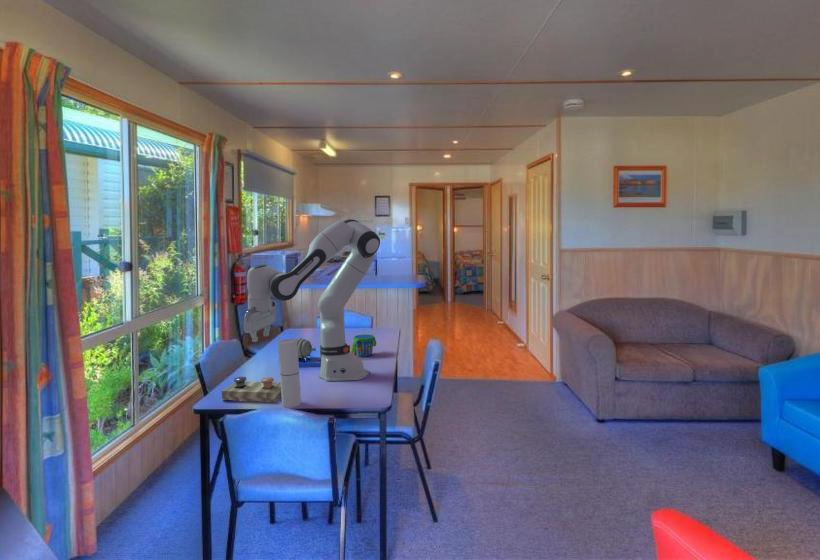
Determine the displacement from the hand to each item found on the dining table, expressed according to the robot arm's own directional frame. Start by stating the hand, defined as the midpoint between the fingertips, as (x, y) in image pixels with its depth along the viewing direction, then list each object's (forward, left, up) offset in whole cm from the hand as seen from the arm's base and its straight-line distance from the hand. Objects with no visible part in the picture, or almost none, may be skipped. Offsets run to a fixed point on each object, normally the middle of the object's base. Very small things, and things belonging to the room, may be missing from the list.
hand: (260, 338), depth 206 cm
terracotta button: (-3, +2, -20) cm, 21 cm away
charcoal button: (+9, +2, -20) cm, 23 cm away
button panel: (+3, +2, -24) cm, 24 cm away
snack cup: (-26, -61, -24) cm, 70 cm away
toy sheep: (+5, -51, -24) cm, 56 cm away
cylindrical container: (-16, +9, -24) cm, 30 cm away
